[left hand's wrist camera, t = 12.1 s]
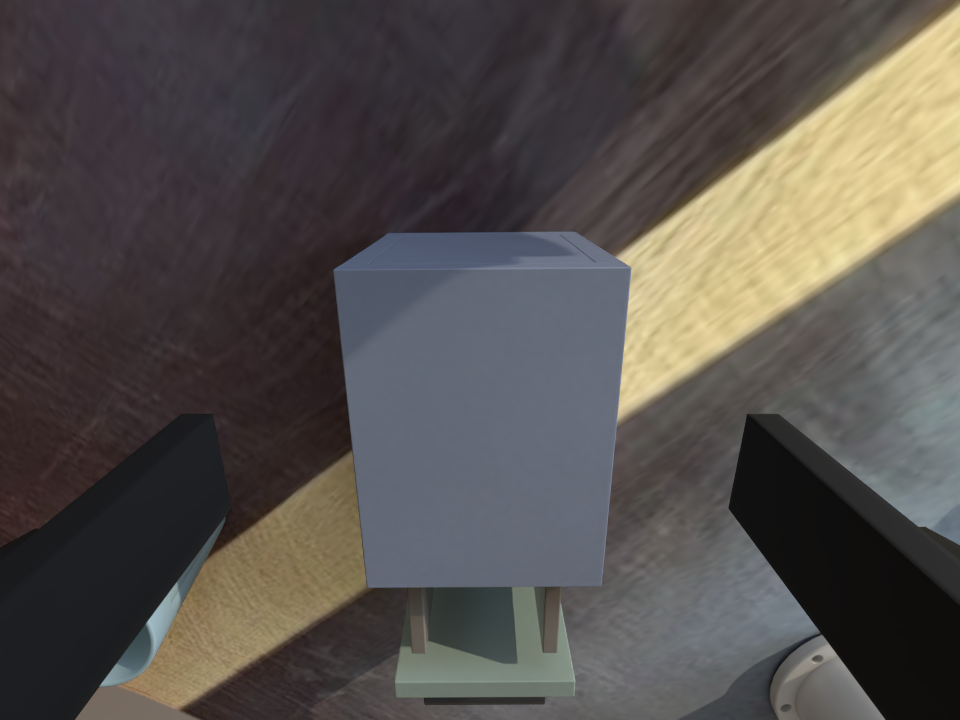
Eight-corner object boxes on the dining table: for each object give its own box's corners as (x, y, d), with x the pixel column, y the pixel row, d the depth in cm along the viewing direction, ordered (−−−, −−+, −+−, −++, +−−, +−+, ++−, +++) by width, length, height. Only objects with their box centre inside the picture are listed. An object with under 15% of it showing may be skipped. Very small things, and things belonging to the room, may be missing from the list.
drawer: (547, 627, 39) (568, 767, 30) (420, 628, 39) (401, 768, 30) (559, 396, 32) (591, 485, 23) (405, 397, 32) (376, 486, 23)
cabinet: (562, 454, 35) (601, 587, 24) (402, 456, 35) (366, 588, 24) (575, 231, 30) (632, 266, 19) (387, 233, 30) (332, 269, 19)
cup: (127, 452, 34) (-12, 564, 25) (243, 470, 35) (152, 587, 25) (132, 543, 37) (8, 677, 27) (240, 558, 37) (156, 695, 28)
